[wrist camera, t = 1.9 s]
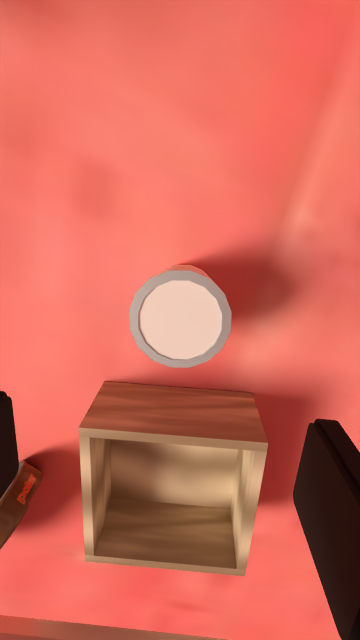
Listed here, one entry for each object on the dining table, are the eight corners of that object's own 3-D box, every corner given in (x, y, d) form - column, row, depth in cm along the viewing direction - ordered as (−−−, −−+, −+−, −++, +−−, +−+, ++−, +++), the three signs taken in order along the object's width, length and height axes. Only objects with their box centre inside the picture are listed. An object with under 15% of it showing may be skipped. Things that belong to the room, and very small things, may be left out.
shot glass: (138, 325, 28) (121, 358, 22) (151, 248, 26) (136, 259, 20) (213, 340, 28) (218, 377, 22) (232, 265, 26) (244, 282, 20)
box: (104, 381, 30) (78, 427, 24) (252, 392, 30) (268, 443, 23) (106, 495, 35) (85, 561, 28) (235, 506, 34) (244, 576, 28)
